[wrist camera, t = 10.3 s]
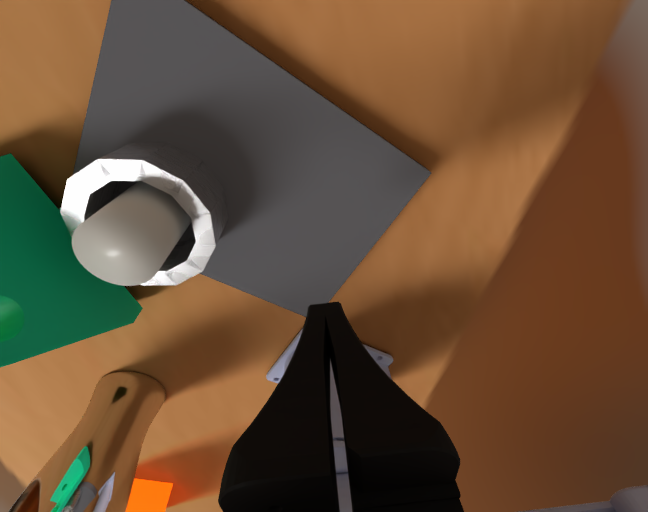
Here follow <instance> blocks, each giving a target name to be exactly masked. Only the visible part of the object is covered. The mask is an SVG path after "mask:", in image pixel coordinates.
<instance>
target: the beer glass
mask: <svg viewBox="0 0 648 512" xmlns="http://www.w3.org/2000/svg"><path fill="white" fill-rule="evenodd" d="M165 398H166V392H165V390H164V388H163V386H162V385H161V384H160V383H159V382H158V381H156V380H155V379H153V378H151V377H149V376H147V375H144V374H141V373H137V372H130V371H120V372H114V373H110V374H108V375H106V376H104V377H102V378H101V379H100V380H99V382H98V383H97V385H96V387H95V390H94V392H93V395H92V397H91V400H90V403H89V405H88V407H87V409H86V411H85V413H84V415H83V416H82V419H81V420H80V422H79V423H78V425H77V426H76V427H75V429H74V430H73V432H72V433H71V434H70V435H69V437H68V438H67V439H66V440H65V442H64V443H63V444H62V445H61V446H60V448H59V449H58V450H57V451H56V452H55V453H54V455H53V456H52V457H51V458H50V459H49V461H48V462H47V463H46V464H45V465H44V467H43V468H42V469H41V470H40V471H39V473H38V474H37V475H36V476H35V477H34V479H33V480H32V481H31V482H30V484H29V485H28V486H27V488H26V489H25V490H24V491H23V493H22V494H21V495H20V497H19V498H18V499H17V501H16V502H15V503H14V504H13V506H12V507H11V509H10V510H9V512H126V509H127V506H128V502H129V499H130V495H131V491H132V486H133V482H134V478H135V474H136V469H137V465H138V460H139V456H140V452H141V448H142V444H143V441H144V439H145V436H146V433H147V431H148V429H149V427H150V425H151V423H152V421H153V419H154V418H155V416H156V415H157V413H158V412H159V410H160V408H161V407H162V405H163V403H164V401H165Z"/></svg>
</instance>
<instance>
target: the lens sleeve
mask: <svg viewBox="0 0 648 512" xmlns="http://www.w3.org/2000/svg"><path fill="white" fill-rule="evenodd" d="M122 181H143V182H145V183H147V184H149V185H151V186H153V187H155V188H158V189H160V190H162V191H164V192H166V193H168V194H170V195H172V196H173V198H174V199H175V200H176V201H177V202H178V203H179V204H180V206H181V207H182V208H183V209H184V210H185V211H186V213H187V214H188V215H189V216H190V217H191V220H192V225H193V230H194V235H195V236H194V237H192V238H190V239H189V240H187V241H178V242H177V244H176V245H175V247H174V248H173V250H172V251H171V253H170V254H169V256H168V257H167V259H166V260H165V262H164V263H163V265H162V266H161V267H160V269H159V270H158V272H157V273H156V275H155V276H154V277H153V278H152V279H151V280H149V281H148V282H145V283H143V284H140V285H177V284H179V283H181V282H183V281H185V280H187V279H189V278H191V277H193V276H195V275H197V274H198V273H200V272H202V271H203V270H204V268H205V266H206V264H207V262H208V260H209V258H210V256H211V254H212V252H213V250H214V248H215V246H216V244H217V242H218V240H219V238H220V235H221V233H222V231H223V229H224V227H225V224H226V222H227V220H228V212H227V205H226V198H225V191H224V188H223V187H222V185H221V184H220V183H219V181H218V180H217V179H216V177H215V176H214V175H213V173H212V172H211V171H210V169H209V168H208V167H207V165H206V164H205V163H204V161H202V160H200V159H199V158H197V157H195V156H193V155H191V154H189V153H187V152H185V151H184V150H182V149H180V148H178V147H176V146H174V145H172V144H171V143H155V142H132V143H130V144H128V145H126V146H124V147H122V148H120V149H117V150H115V151H113V152H111V153H109V154H107V155H105V156H103V157H101V158H99V159H97V160H95V161H94V162H92V163H91V164H89V165H88V166H86V167H85V168H83V169H82V170H80V171H79V172H77V173H76V174H74V175H73V176H71V177H70V178H68V179H67V183H66V187H65V192H64V197H63V201H62V206H61V211H60V213H61V215H62V217H63V220H64V222H65V224H66V226H67V228H68V231H69V233H70V235H71V237H72V236H73V233H74V231H75V229H76V228H77V227H78V226H79V225H80V224H81V223H83V222H84V221H85V220H87V219H88V218H89V217H91V216H92V215H93V214H95V213H96V212H97V211H99V210H100V209H101V208H103V207H104V206H106V205H107V204H108V203H110V202H111V201H112V200H114V199H115V198H116V197H118V196H119V193H118V192H119V189H120V185H121V182H122Z"/></svg>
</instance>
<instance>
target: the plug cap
mask: <svg viewBox="0 0 648 512" xmlns="http://www.w3.org/2000/svg"><path fill="white" fill-rule="evenodd" d="M191 222H192V220H191V217H190V216H189V215H188V214H187V213H186V211H185V210H184V209H183V208H182V207H181V206H180V204H179V203H178V202H177V201H176V200H175V199H174V198H173V196H172V195H170V194H168V193H166V192H164V191H162V190H160V189H158V188H155V187H153V186H151V185H149V184H147V183H145V182H143V181H138V182H137V183H135V184H134V185H133V186H131V187H130V188H128V189H127V190H126V191H124V192H123V193H122V194H120V195H119V196H118V197H116V198H115V199H114V200H112V201H111V202H110V203H108V204H107V205H106V206H104V207H103V208H101V209H100V210H99V211H97V212H96V213H95V214H93V215H92V216H91V217H89V218H88V219H87V220H85V221H84V222H83V223H81V224H80V225H79V226H78V227H77V228H76V229H75V231H74V233H73V236H72V248H73V251H74V254H75V256H76V258H77V259H78V261H79V262H80V263H81V264H82V266H83V267H84V268H85V269H87V270H88V271H89V272H90V273H92V274H93V275H95V276H96V277H98V278H100V279H102V280H104V281H106V282H109V283H112V284H116V285H122V286H135V285H140V284H143V283H145V282H148V281H149V280H151V279H152V278H153V277H154V276H155V275H156V273H157V272H158V270H159V269H160V267H161V266H162V265H163V263H164V262H165V260H166V259H167V257H168V256H169V254H170V253H171V251H172V250H173V248H174V247H175V245H176V244H177V242H178V241H179V239H180V238H181V236H182V235H183V234H184V232H185V231H186V229H187V228H188V226H189V225H190V223H191Z"/></svg>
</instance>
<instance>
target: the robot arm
mask: <svg viewBox="0 0 648 512" xmlns="http://www.w3.org/2000/svg"><path fill="white" fill-rule="evenodd" d="M392 362H393V358H392V356H391V355H388V354H386V353H384V352H381V351H379V350H376V349H374V348H371V347H369V346H366V345H364V344H362V343H361V341H360V340H359V338H358V337H357V335H356V333H355V332H354V330H353V329H352V327H351V325H350V323H349V321H348V320H347V318H346V316H345V314H344V311H343V309H342V306H341V303H339V302H332V303H323V304H313V305H310V306H309V307H308V311H307V316H306V320H305V324H304V327H303V328H302V330H301V331H300V332H299V333H298V335H297V336H296V337H295V338H294V340H293V341H292V342H291V344H290V345H289V346H288V347H287V349H286V350H285V351H284V352H283V354H282V355H281V356H280V357H279V359H278V360H277V361H276V363H275V364H274V365H273V366H272V368H271V369H270V370H269V371H268V373H267V376H266V378H267V379H268V380H269V381H272V382H276V383H278V385H277V387H276V388H275V390H274V392H273V393H272V395H271V396H270V398H269V400H268V401H267V402H266V404H265V405H264V407H263V408H262V410H261V411H260V412H259V414H258V415H257V417H256V418H255V419H254V421H253V422H252V423H251V425H250V426H249V427H248V428H247V429H246V431H245V432H244V433H243V434H242V435H241V437H240V438H239V439H238V440H237V442H236V443H235V444H234V445H233V447H232V450H231V452H230V455H229V457H228V460H227V463H226V467H225V470H224V473H223V477H222V482H221V488H220V494H219V499H218V502H219V505H220V507H221V509H222V510H223V512H464V511H463V508H462V505H461V502H460V500H459V498H460V491H459V489H458V486H457V483H456V481H455V479H456V476H457V473H458V469H459V466H460V458H459V456H458V453H457V451H456V448H455V446H454V445H453V443H452V441H451V439H450V437H449V436H448V434H447V432H446V431H445V429H444V428H443V426H442V425H441V423H440V422H439V421H438V420H436V419H435V418H434V417H433V416H431V415H430V414H429V413H428V412H426V411H425V410H424V409H423V408H421V407H420V406H419V405H418V404H417V403H416V402H415V401H413V400H412V399H411V398H410V397H409V396H408V395H407V394H406V393H405V392H404V391H403V390H402V389H401V388H400V387H399V386H398V385H397V384H396V383H394V382H393V381H392V379H391V375H390V372H389V368H388V366H389V365H390V364H391V363H392ZM520 512H648V485H645V486H636V487H629V488H624V489H622V490H619V491H617V492H616V493H615V494H614V495H613V496H612V497H611V499H610V501H605V502H596V503H587V504H579V505H570V506H563V507H553V508H545V509H537V510H528V511H520Z"/></svg>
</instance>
